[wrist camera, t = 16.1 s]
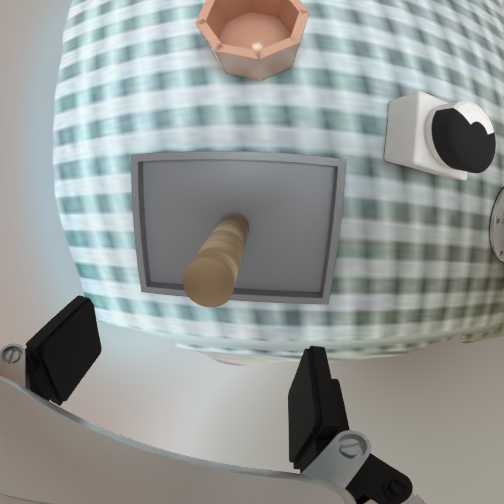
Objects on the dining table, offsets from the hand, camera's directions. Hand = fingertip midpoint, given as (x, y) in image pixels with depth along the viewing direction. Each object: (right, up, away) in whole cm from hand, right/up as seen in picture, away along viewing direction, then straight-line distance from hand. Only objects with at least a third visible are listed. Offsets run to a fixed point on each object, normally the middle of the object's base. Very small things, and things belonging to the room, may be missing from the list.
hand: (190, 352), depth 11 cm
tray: (+1, +7, +19) cm, 21 cm away
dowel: (+1, +7, +19) cm, 20 cm away
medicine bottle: (+21, +17, +15) cm, 31 cm away
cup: (+3, +26, +12) cm, 29 cm away
